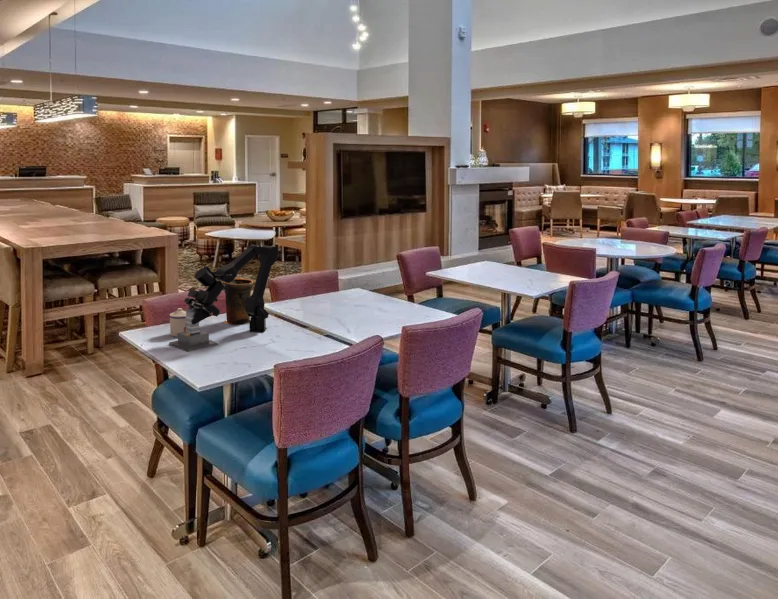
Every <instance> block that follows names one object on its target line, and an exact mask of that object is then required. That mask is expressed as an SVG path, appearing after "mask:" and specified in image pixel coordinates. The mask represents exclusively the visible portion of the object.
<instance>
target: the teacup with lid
mask: <svg viewBox="0 0 778 599" xmlns="http://www.w3.org/2000/svg"><path fill="white" fill-rule="evenodd" d="M169 326H170V329H169V330H170V335H171V336H172V337H176V338H178V334H177V333H181V332H186V330H187V327H186V326H187V325H186V312H185V310H183V308H181V307H179V308H177V310H175V311H174V312H171V313H169Z"/></svg>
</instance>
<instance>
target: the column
mask: <svg viewBox="0 0 778 599" xmlns="http://www.w3.org/2000/svg"><path fill="white" fill-rule="evenodd" d="M184 311H185V312H186V325H187V326H186V327H187V330H186V332H187V333H188V332H189V333H190V335H196V334H199V332H200V331H201V330H200V326H201V325H200V322H198V323H196V324H194V325H193V324H192V322H193V320H194V318H195V317H196V315H197V313H198V308H196V307H195V308H189V307H188V308H184Z"/></svg>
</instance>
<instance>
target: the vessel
mask: <svg viewBox="0 0 778 599" xmlns="http://www.w3.org/2000/svg"><path fill="white" fill-rule="evenodd" d="M222 283H223V284H225V285H227V288H228V291H224V290H223V291H224V294H225V312H226V313H225V314H226V316H225V317H226V320H227V321H226V320H224V322H223V323H224V324H227V325H232V326H244V325H249V321H250V320H251V319H250V318H251V317H249V316H248V314H247V312H246V311H245V306H244V304H245V302H246V298H247V297H249V298H250V296H251V295H252V294H251V293H252V289H253V288H254V281H253V280H252V279H248V278H235V279H234V280H233V281H232V282H230V283H226V282H222ZM225 322H226V323H225Z"/></svg>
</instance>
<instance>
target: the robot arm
mask: <svg viewBox="0 0 778 599" xmlns="http://www.w3.org/2000/svg"><path fill="white" fill-rule="evenodd" d="M279 253H280V251H279V250H278V248H277V247H276V246H271V245H262V246H260V245H256V244H250V245H249V246H248V247H247V248H246V249H245V250H244V251H242V252H241V253H240V254H239V255H238V256H237V257H235V259H233V260H232V261H231V262H230V263H228V264H224V265H222V266H221V267H219V268H218V269H217V270H215V271H212V270H211V268H209V267H208V266H206V265H205V266H203V267H202V268H200V269H198V270H196V272H195V274H194V278H195V280H197V281H198V283H200V284H201V285H202V286H203V287H206V289H205V290H203V289H199V290H195V289H191V288H189V290H188V294H187V297H186V298H185V299H183V302H184V303H185V304H186V305H187V306H188V309H189V308H195V307H196V308H198V313H197V315H196V317H195V318H194V320H193V322H192V324H193V325H194V324H196V323H198V322H199V323H200V322H202V321H203V320H206V319H208V318H210V317H212V316H214V317H217V318H218V316H219V315H220V309H219V308H218V307H217V306H215V304H214V302H216V303H217V302H218V298H219V296H220V295H221V293H222V291H228V288H227V285H225V284H223V282H226V283H230V282H232V281H233V280H234V279H236V277H237V276H238V273H239V271H241V269H242V268H244V267H245V266H246V265H247V264H248V263H250V261H252V260H253V259H254V258H255V257H256V256H257V255H259V256H258V257H259V258H258V259H259V264H260V265H259V268H258V271H257V275H256V280H255V283H254V285H253V291H252V294H251V296H250V298H249V297H247V298H246V302H245V304H244V306H245V311H246V312H247V314H248V316H249V317H250V321H249V324H248V326H249V327H248V328H249V332H250V333H253V332H254V333H264V332H266V330H267V329H268V328H267V324H266V323H267V322H266V321H267V320H266V319H268V318H269V315H270V314H269V312H268V311H267V310H266V309H265V300H264V295H265V291H266V288H267V285H268V284H267V283H268V279H269V276H270V272H271V268H272V266H273V265H274V264H275V263H276V262H277V260H278V257H279Z"/></svg>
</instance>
